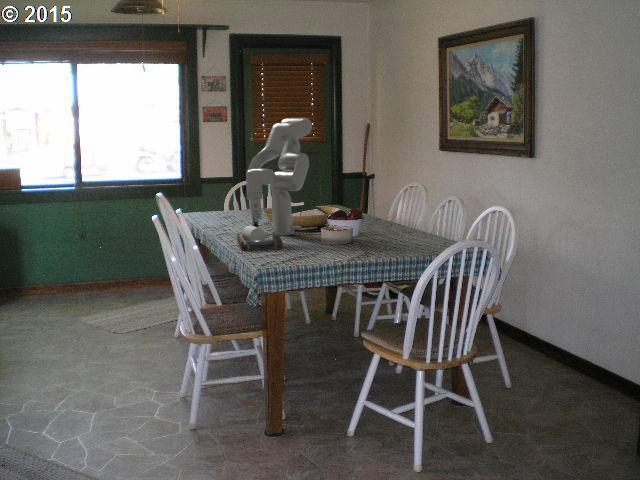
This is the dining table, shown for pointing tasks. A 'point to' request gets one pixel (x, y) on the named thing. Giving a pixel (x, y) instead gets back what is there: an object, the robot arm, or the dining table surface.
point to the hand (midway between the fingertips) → (255, 233)
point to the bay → (260, 243)
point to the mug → (254, 233)
